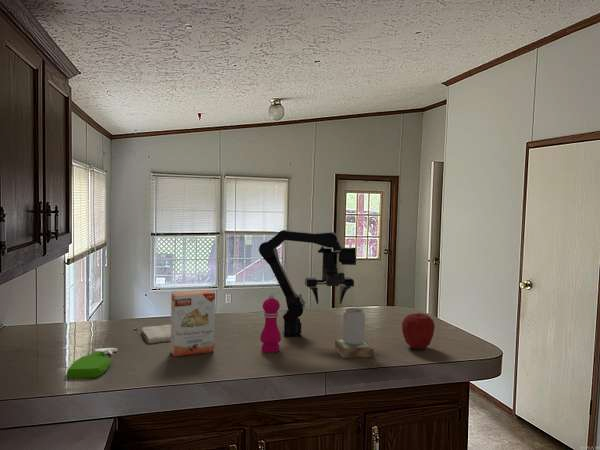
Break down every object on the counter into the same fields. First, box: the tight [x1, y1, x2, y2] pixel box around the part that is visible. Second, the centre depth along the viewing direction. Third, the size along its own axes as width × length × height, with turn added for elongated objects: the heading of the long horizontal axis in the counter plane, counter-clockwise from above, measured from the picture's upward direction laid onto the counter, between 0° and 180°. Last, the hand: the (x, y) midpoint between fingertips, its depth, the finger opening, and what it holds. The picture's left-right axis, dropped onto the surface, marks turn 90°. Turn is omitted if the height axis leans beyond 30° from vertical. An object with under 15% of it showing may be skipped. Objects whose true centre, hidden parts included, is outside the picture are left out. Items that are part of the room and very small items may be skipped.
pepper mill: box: [260, 293, 282, 354], centre depth 165 cm, size 7×7×20 cm
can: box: [342, 307, 366, 346], centre depth 165 cm, size 8×8×12 cm
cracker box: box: [170, 289, 216, 357], centre depth 161 cm, size 14×6×21 cm, turn 117°
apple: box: [401, 312, 436, 351], centre depth 172 cm, size 12×12×13 cm
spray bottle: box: [66, 347, 118, 379], centre depth 149 cm, size 3×11×24 cm
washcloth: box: [141, 324, 171, 344], centre depth 181 cm, size 12×18×3 cm, turn 28°
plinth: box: [334, 338, 374, 359], centre depth 165 cm, size 11×11×3 cm
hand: (328, 303), depth 184 cm, fingers open, 9 cm apart
